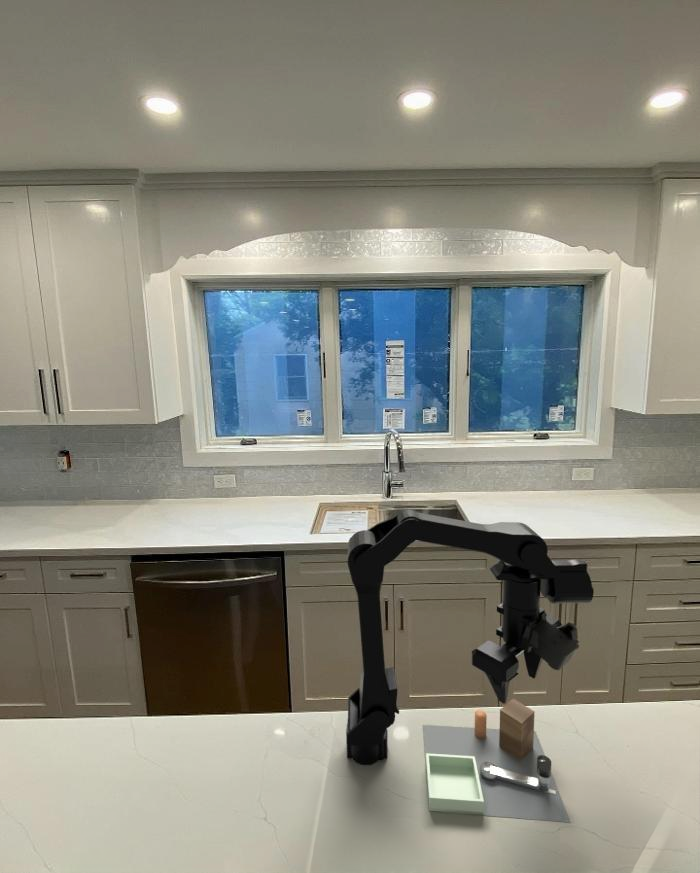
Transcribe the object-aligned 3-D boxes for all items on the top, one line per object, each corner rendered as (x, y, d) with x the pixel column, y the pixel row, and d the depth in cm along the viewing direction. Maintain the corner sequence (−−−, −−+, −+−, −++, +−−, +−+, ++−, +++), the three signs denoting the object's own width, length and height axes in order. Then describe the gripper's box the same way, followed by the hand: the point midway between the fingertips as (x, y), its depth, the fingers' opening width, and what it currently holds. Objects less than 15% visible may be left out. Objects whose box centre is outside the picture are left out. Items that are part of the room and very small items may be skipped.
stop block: (520, 761, 74) (521, 723, 73) (499, 746, 78) (500, 709, 77) (533, 748, 77) (534, 711, 76) (511, 734, 80) (513, 698, 79)
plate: (428, 818, 67) (428, 787, 66) (422, 730, 83) (422, 705, 82) (570, 829, 64) (571, 797, 64) (535, 737, 81) (536, 711, 80)
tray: (429, 810, 67) (429, 797, 66) (426, 765, 74) (426, 753, 74) (483, 814, 66) (483, 801, 65) (474, 768, 73) (474, 756, 73)
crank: (479, 777, 71) (479, 750, 71) (480, 763, 74) (481, 737, 73) (550, 797, 68) (551, 770, 67) (549, 782, 70) (550, 755, 70)
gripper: (538, 647, 61) (534, 749, 64) (597, 601, 73) (592, 689, 75) (470, 614, 70) (468, 705, 72) (533, 578, 82) (529, 657, 84)
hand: (517, 689), depth 76 cm, fingers open, 9 cm apart
